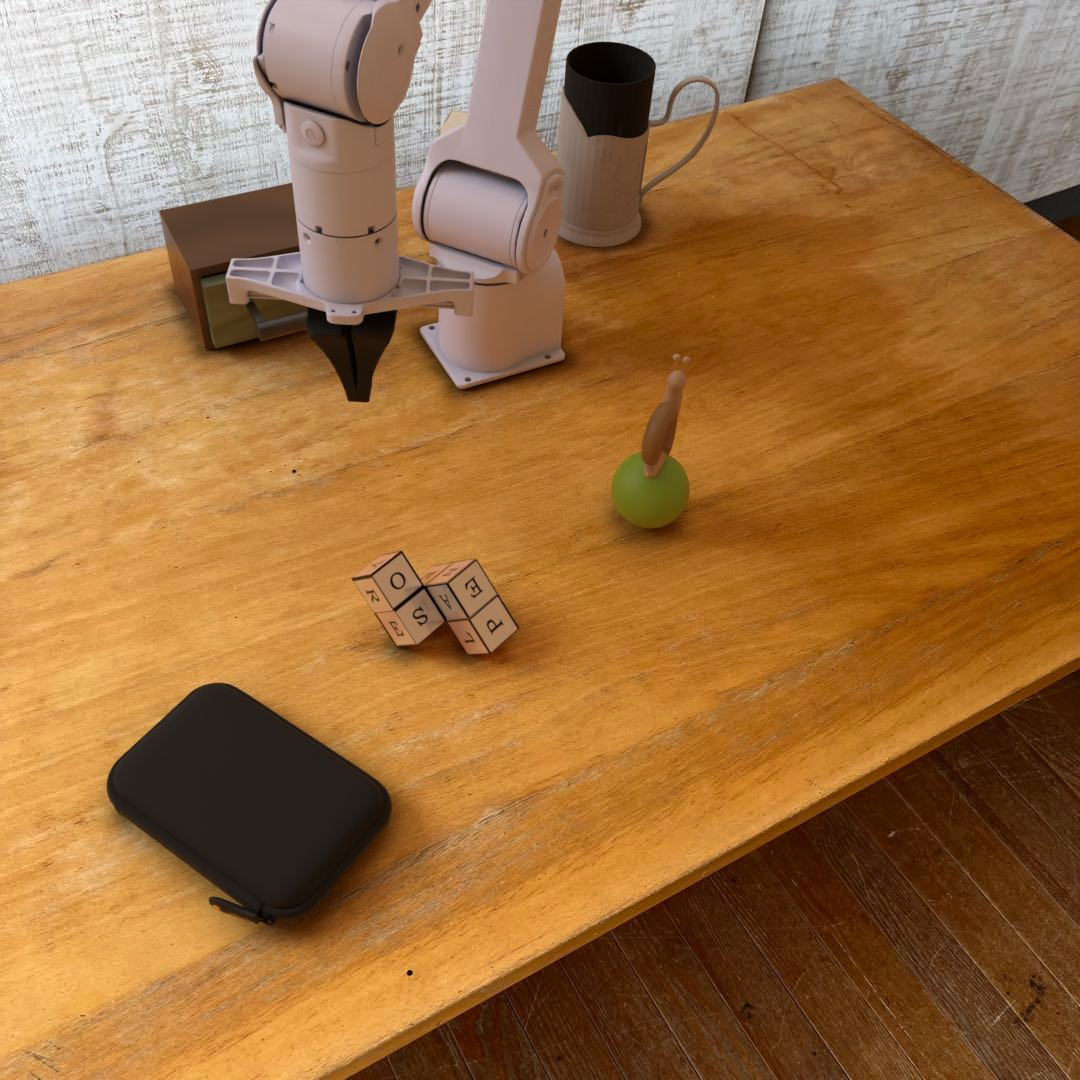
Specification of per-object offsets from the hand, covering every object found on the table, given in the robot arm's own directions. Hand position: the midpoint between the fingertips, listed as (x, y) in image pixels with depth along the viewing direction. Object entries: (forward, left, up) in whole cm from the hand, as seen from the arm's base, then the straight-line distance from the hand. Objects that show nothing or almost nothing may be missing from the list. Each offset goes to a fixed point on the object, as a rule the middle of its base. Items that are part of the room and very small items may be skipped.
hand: (360, 392), depth 76 cm
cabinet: (0, -24, -9) cm, 26 cm away
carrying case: (+16, +21, -10) cm, 28 cm away
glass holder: (-34, -23, -10) cm, 43 cm away
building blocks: (+1, +13, -10) cm, 16 cm away
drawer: (0, -20, -9) cm, 22 cm away
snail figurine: (-17, +10, -10) cm, 22 cm away
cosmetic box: (-18, -23, -10) cm, 31 cm away
